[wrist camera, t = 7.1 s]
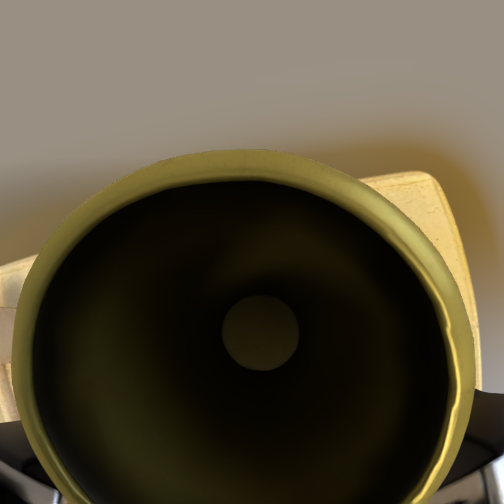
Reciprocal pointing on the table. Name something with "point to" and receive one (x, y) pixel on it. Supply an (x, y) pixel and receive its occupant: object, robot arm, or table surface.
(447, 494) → the robot arm
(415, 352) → the vase
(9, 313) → the candle
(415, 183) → the table surface
